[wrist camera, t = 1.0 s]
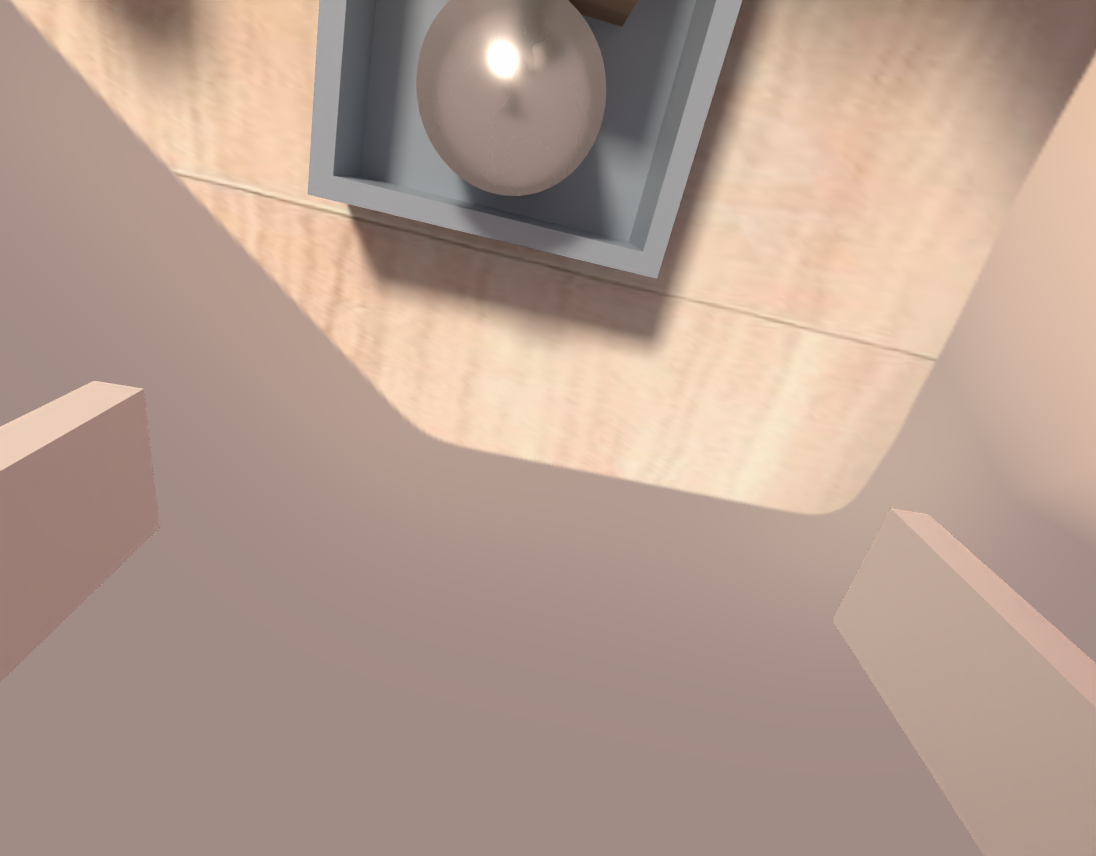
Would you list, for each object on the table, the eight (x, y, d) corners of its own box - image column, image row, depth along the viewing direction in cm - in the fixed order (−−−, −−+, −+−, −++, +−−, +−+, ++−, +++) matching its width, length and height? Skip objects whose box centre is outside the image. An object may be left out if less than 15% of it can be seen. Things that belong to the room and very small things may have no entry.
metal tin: (456, 5, 26) (431, -51, 19) (605, 48, 26) (629, 9, 20) (432, 171, 28) (404, 171, 22) (569, 206, 29) (579, 215, 23)
